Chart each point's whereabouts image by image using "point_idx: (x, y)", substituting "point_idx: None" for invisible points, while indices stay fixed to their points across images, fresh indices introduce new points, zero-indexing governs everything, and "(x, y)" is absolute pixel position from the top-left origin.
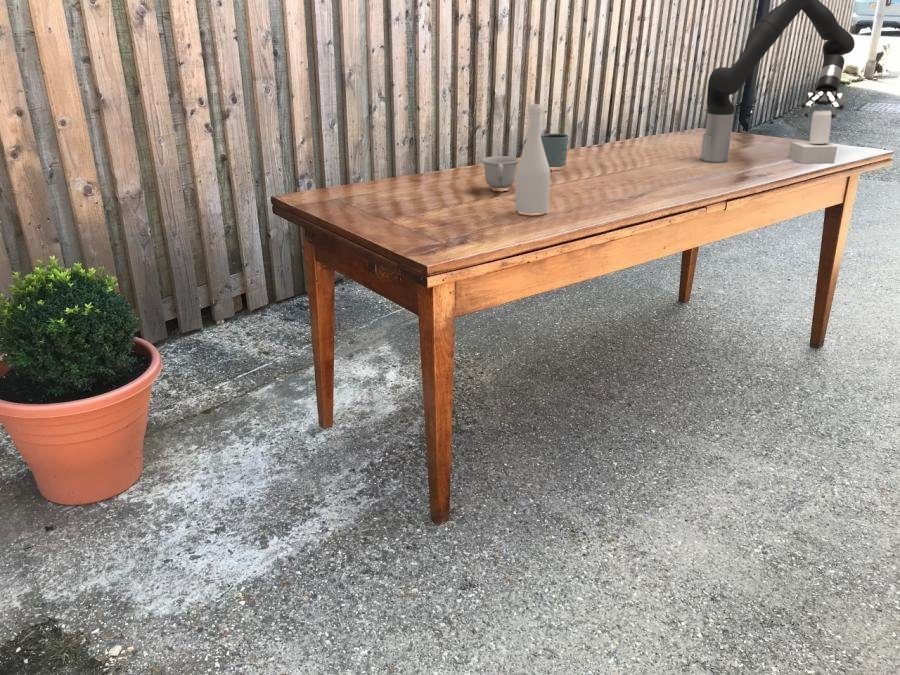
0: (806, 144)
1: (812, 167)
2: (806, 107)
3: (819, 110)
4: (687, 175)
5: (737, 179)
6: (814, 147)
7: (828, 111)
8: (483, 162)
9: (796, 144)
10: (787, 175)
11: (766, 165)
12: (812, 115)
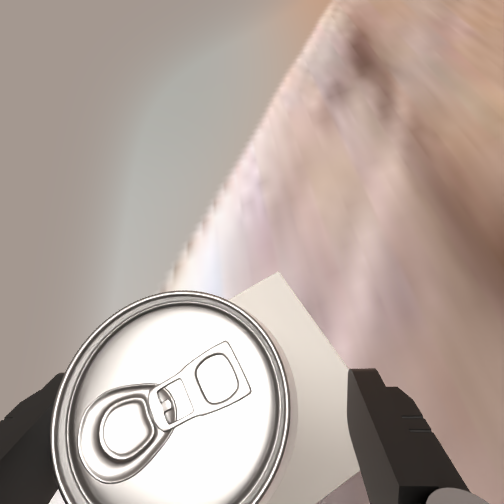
0: None
1: (229, 247)
2: (446, 478)
3: (209, 294)
4: (485, 37)
5: (368, 49)
6: (232, 299)
7: (104, 336)
8: None
9: (337, 354)
10: (279, 119)
11: (380, 214)
12: (289, 366)
